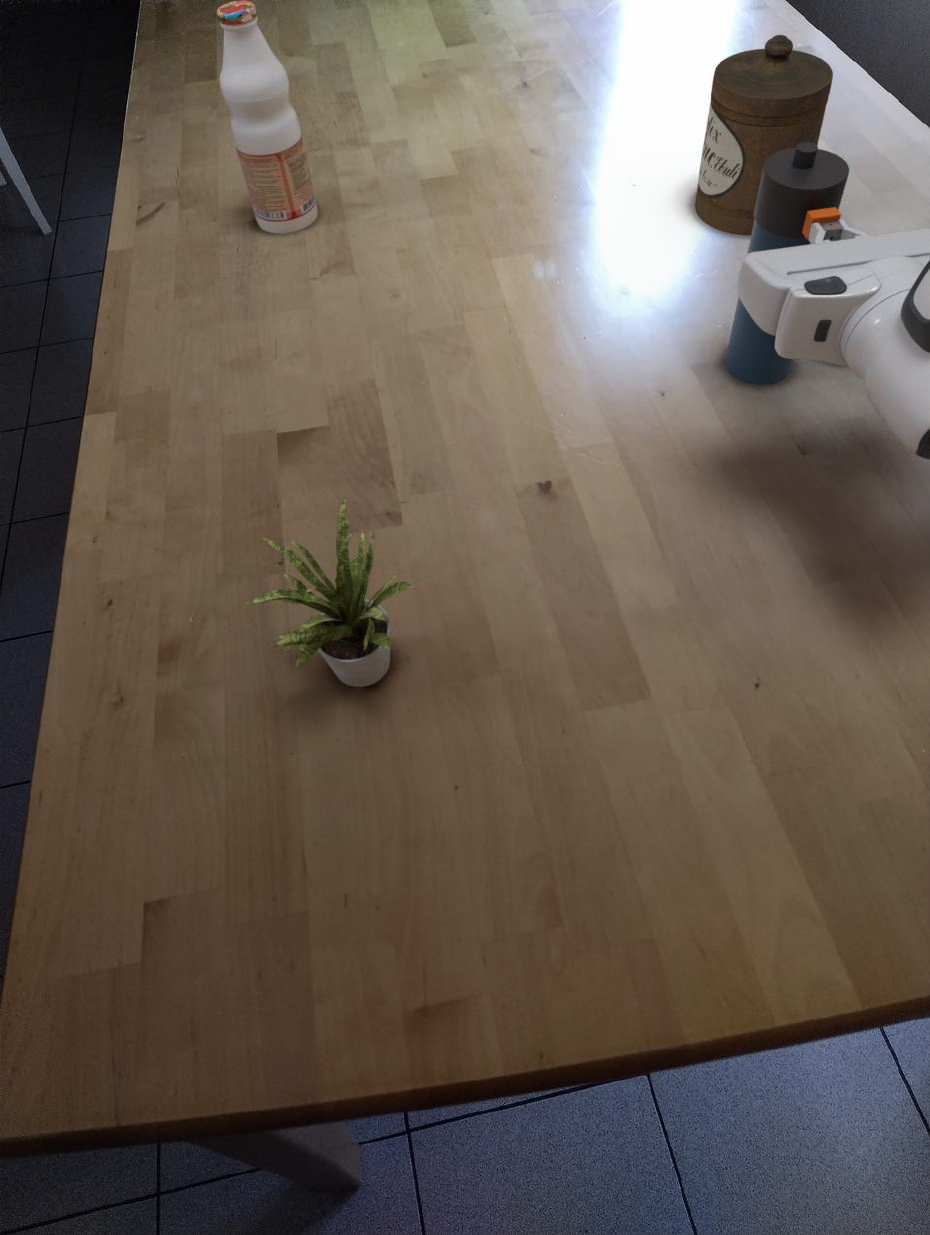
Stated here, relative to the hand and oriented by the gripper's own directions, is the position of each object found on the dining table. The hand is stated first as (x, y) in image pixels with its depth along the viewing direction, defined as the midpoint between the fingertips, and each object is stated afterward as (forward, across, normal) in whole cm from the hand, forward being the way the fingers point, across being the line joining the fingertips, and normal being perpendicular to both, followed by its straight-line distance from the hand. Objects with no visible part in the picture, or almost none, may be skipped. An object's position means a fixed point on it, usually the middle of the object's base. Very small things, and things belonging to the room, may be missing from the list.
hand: (824, 228), depth 83 cm
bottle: (+7, 0, +22) cm, 23 cm away
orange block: (+1, 0, +1) cm, 2 cm away
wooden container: (+40, -10, +22) cm, 47 cm away
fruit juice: (+55, +56, +22) cm, 82 cm away
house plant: (-26, +50, +22) cm, 61 cm away
